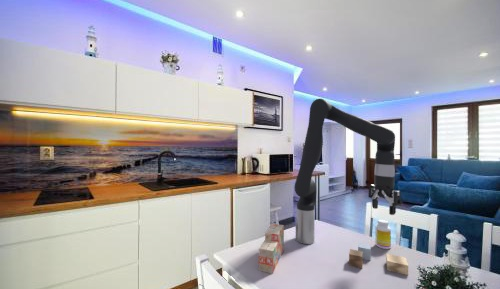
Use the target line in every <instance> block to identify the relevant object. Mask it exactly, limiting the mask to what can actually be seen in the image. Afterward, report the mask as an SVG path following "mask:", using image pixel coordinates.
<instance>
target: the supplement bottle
mask: <svg viewBox="0 0 500 289" xmlns="http://www.w3.org/2000/svg"><path fill="white" fill-rule="evenodd" d="M374 230H375V231H374V232H375V238H374V239H375V241H374V243H375V245H376V246H377V247H378V248H380V249H384V250H389V249H391V246H392V243H391V242H392V241H391V240H392V237H391V236H392V232H391V231H392V228H391V227H390V226H389V221H388V220H385V219H377V224H376V225H375V229H374Z"/></svg>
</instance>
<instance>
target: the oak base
mask: <svg viewBox="0 0 500 289" xmlns="http://www.w3.org/2000/svg"><path fill="white" fill-rule="evenodd" d="M385 255H386V256H385V262H386V263H385V264H386V269H387V270H386V271H390V272H393V273H394V272H395V273H397V274H401V275H406V276H409V264H408V261H407V257H404V256H400V255H395V254H391V253H390V254H389V253H385Z"/></svg>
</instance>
